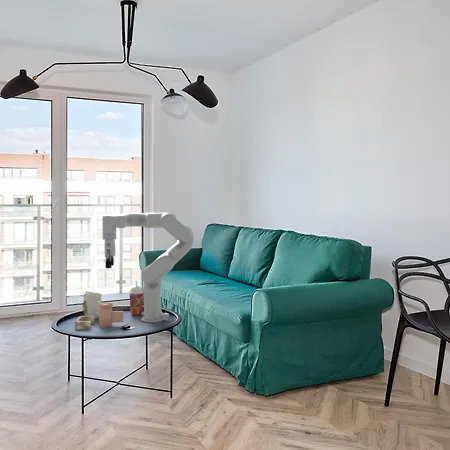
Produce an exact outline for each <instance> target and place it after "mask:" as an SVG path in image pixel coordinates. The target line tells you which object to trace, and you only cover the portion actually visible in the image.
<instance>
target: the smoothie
mask: <svg viewBox="0 0 450 450" xmlns="http://www.w3.org/2000/svg"><path fill="white" fill-rule="evenodd" d="M128 293H129V306H130V307H129V308H130V314H131V316H134V317H138V316H141V315H142V313H143V311H144V289H143V288H142V287H141V286H139V285H138V281H137V280H136V281H135V285H134V286H132V287H131V288H130V290H129V292H128Z"/></svg>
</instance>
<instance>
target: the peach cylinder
mask: <svg viewBox="0 0 450 450" xmlns="http://www.w3.org/2000/svg"><path fill="white" fill-rule="evenodd" d="M113 305H114V304H113V303H112V302H102V303H100V304H98V306H99V318H98V327H99V328H103V329H107V328H108V329H109V328H111V327H113V324H114V323H116V324H117V323H124V322H125V320H124V310H113Z"/></svg>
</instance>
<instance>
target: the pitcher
mask: <svg viewBox="0 0 450 450" xmlns="http://www.w3.org/2000/svg"><path fill="white" fill-rule="evenodd" d="M82 297H83V302H82V312H83V313H84V316H94V320H95V319H96V320H97V319H99V306H98V304H100V303H103V301H102V294H101V293H99V292H92V291H85V292H84V294H83V295H82Z"/></svg>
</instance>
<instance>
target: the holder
mask: <svg viewBox="0 0 450 450" xmlns="http://www.w3.org/2000/svg"><path fill="white" fill-rule="evenodd" d="M74 324H75V325H74V328H75V329H74V330H91V329H92V325H94V324H95V319H94V316H85V315H83V316H82V315H81V316H78V317H77V319H75V321H74Z"/></svg>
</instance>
